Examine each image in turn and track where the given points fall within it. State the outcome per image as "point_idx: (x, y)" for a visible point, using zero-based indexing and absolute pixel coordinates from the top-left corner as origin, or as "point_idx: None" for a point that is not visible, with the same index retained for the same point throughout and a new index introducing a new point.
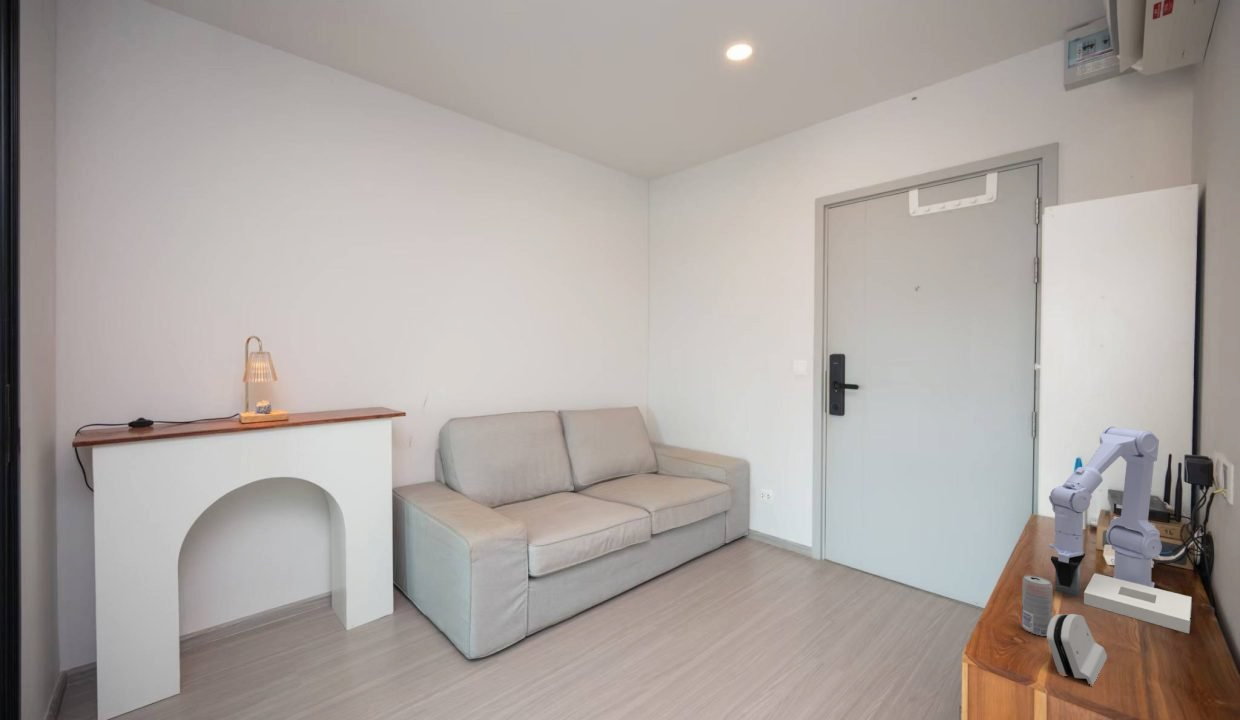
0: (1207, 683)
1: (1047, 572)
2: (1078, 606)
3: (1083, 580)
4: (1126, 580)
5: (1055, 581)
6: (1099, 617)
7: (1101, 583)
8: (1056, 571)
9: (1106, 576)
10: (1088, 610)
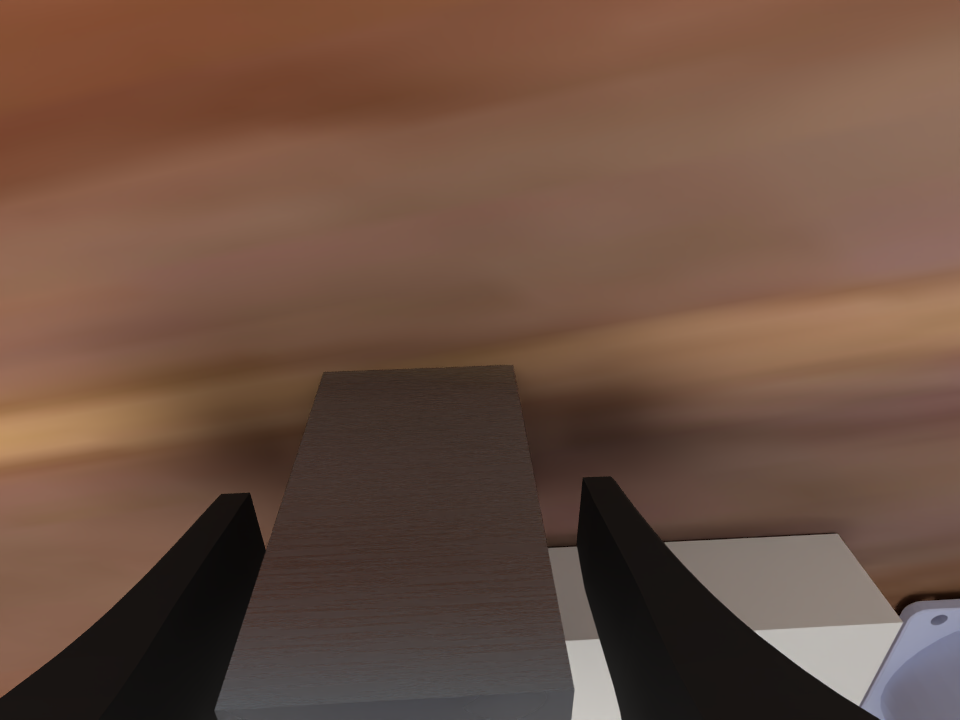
0: None
1: (940, 195)
2: (114, 551)
3: (878, 471)
4: (925, 712)
5: (304, 440)
6: (50, 651)
7: (604, 690)
8: (94, 624)
9: (860, 680)
10: (109, 599)
